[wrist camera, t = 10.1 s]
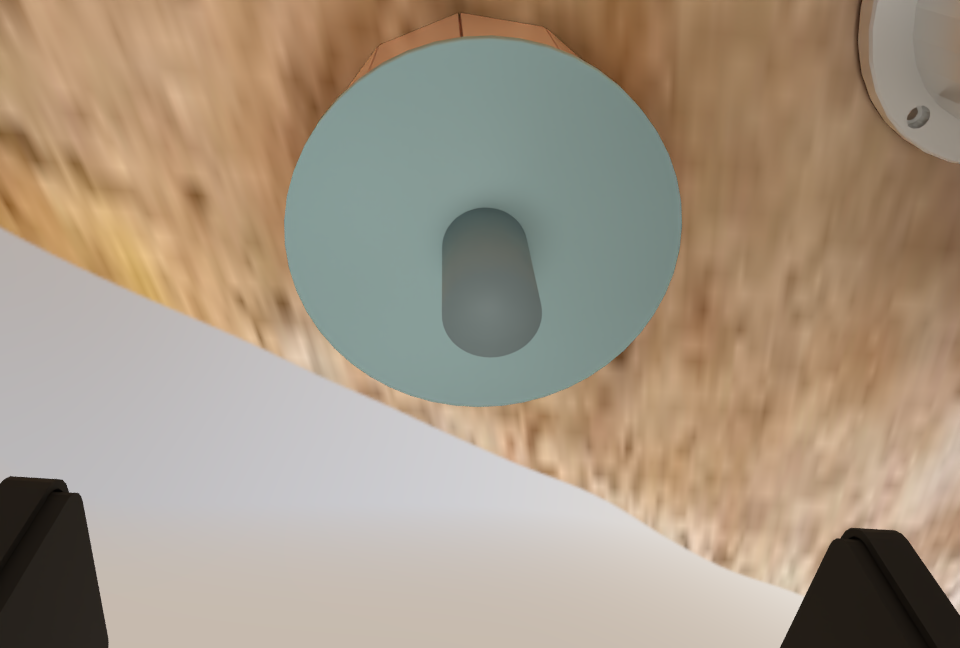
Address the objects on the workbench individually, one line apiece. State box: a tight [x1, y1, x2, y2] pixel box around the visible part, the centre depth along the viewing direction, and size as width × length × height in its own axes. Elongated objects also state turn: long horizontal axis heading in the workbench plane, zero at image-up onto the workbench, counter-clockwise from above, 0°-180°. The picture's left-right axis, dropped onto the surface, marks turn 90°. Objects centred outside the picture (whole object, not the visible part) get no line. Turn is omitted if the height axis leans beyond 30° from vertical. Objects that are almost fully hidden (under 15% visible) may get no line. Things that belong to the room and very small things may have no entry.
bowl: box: [346, 13, 579, 90], centre depth 29 cm, size 12×12×6 cm
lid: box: [284, 35, 682, 407], centre depth 24 cm, size 13×13×5 cm
